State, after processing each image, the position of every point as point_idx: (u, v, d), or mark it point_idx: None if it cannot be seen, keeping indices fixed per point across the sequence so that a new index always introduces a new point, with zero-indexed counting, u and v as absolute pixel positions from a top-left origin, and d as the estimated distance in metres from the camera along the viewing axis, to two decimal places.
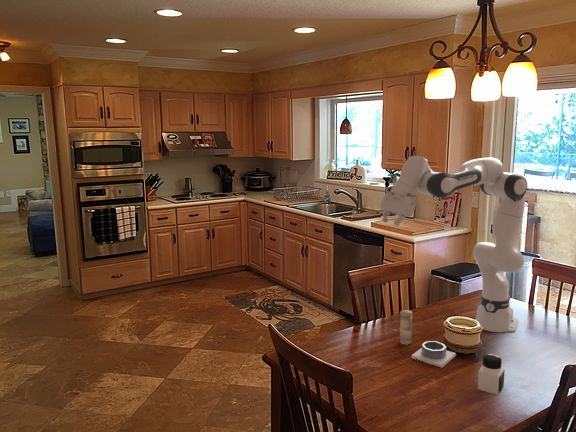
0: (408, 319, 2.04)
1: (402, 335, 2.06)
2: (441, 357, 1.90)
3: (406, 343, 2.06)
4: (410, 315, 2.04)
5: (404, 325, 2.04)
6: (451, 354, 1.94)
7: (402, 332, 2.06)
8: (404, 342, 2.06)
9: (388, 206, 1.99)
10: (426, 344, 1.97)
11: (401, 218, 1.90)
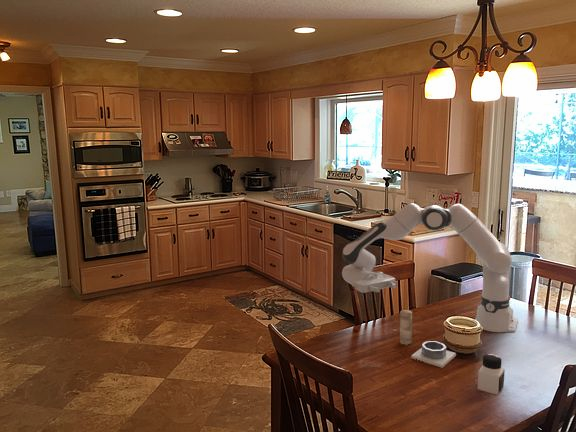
0: (408, 319, 2.04)
1: (402, 335, 2.06)
2: (441, 357, 1.90)
3: (406, 343, 2.06)
4: (410, 315, 2.04)
5: (404, 325, 2.04)
6: (451, 354, 1.94)
7: (402, 332, 2.06)
8: (404, 342, 2.06)
9: None
10: (426, 344, 1.97)
11: (371, 288, 2.15)
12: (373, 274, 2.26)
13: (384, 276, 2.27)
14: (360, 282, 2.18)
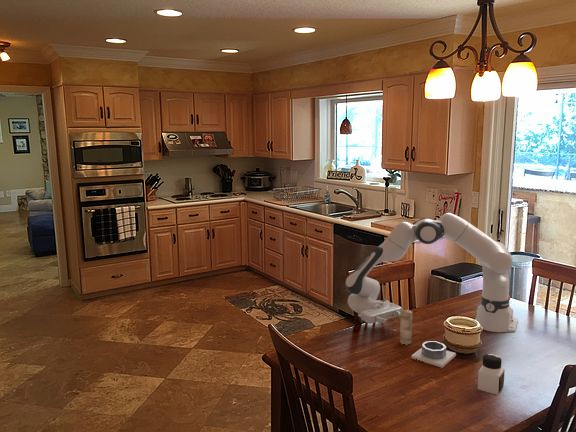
0: (408, 319, 2.04)
1: (402, 335, 2.06)
2: (441, 357, 1.90)
3: (406, 343, 2.06)
4: (410, 315, 2.04)
5: (404, 325, 2.04)
6: (451, 354, 1.94)
7: (402, 332, 2.06)
8: (404, 342, 2.06)
9: None
10: (426, 344, 1.97)
11: (377, 319, 2.13)
12: (379, 303, 2.25)
13: (391, 305, 2.25)
14: (366, 312, 2.17)
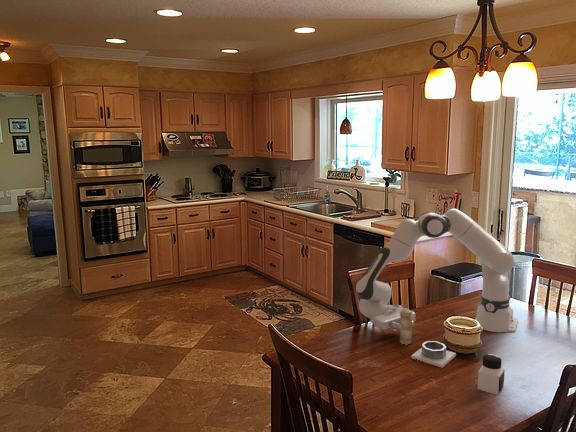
0: (408, 319, 2.04)
1: (402, 335, 2.06)
2: (441, 357, 1.90)
3: (406, 343, 2.06)
4: (410, 315, 2.04)
5: (404, 325, 2.04)
6: (451, 354, 1.94)
7: (402, 332, 2.06)
8: (404, 342, 2.06)
9: None
10: (426, 344, 1.97)
11: (393, 325, 2.06)
12: (392, 308, 2.17)
13: None
14: (379, 318, 2.10)
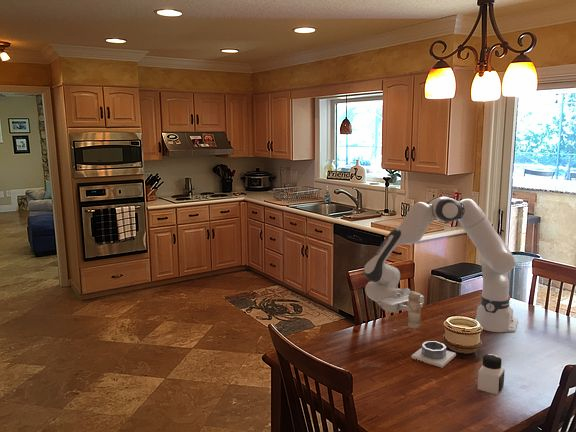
0: (416, 302, 1.98)
1: (410, 318, 2.00)
2: (441, 357, 1.90)
3: (415, 326, 2.00)
4: (419, 297, 1.99)
5: (413, 307, 1.99)
6: (451, 354, 1.94)
7: (410, 315, 2.00)
8: (412, 325, 2.00)
9: None
10: (426, 344, 1.97)
11: (402, 307, 2.01)
12: (400, 291, 2.12)
13: None
14: (387, 301, 2.04)
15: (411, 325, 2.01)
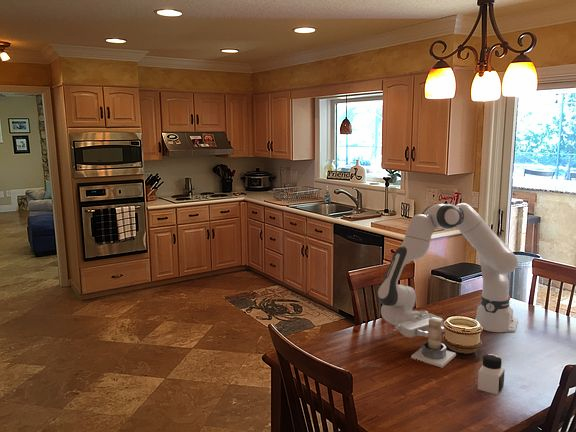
0: (437, 329, 1.90)
1: (431, 346, 1.92)
2: (441, 357, 1.90)
3: None
4: (440, 324, 1.90)
5: (433, 335, 1.91)
6: (451, 354, 1.94)
7: (431, 343, 1.92)
8: None
9: None
10: (426, 344, 1.97)
11: (419, 333, 1.92)
12: (418, 314, 2.03)
13: (430, 316, 2.04)
14: (405, 325, 1.95)
15: None
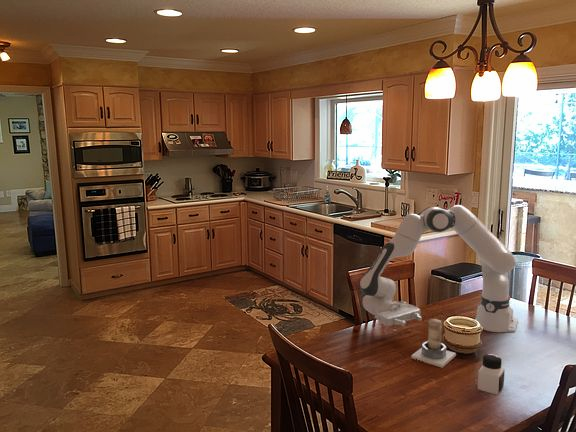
0: (437, 330, 1.90)
1: (431, 346, 1.92)
2: (441, 357, 1.90)
3: None
4: (440, 325, 1.90)
5: (433, 335, 1.91)
6: (451, 354, 1.94)
7: (431, 343, 1.92)
8: None
9: None
10: (426, 344, 1.97)
11: (396, 322, 2.03)
12: (397, 305, 2.14)
13: (408, 306, 2.15)
14: (384, 314, 2.06)
15: None
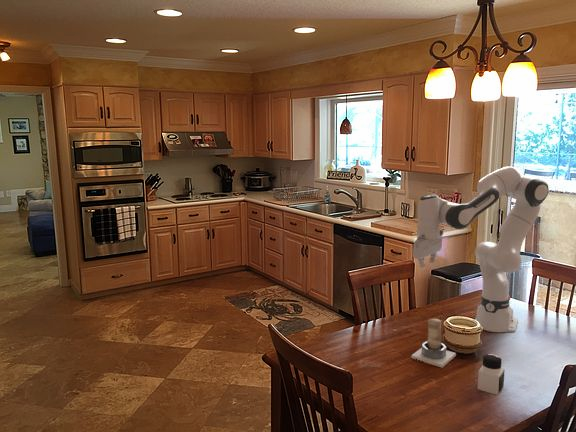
0: (437, 329, 1.90)
1: (431, 346, 1.92)
2: (441, 357, 1.90)
3: None
4: (439, 324, 1.91)
5: (434, 335, 1.91)
6: (451, 354, 1.94)
7: (431, 342, 1.92)
8: None
9: None
10: (426, 344, 1.97)
11: (420, 260, 2.00)
12: None
13: (439, 239, 2.08)
14: (423, 248, 1.96)
15: None
